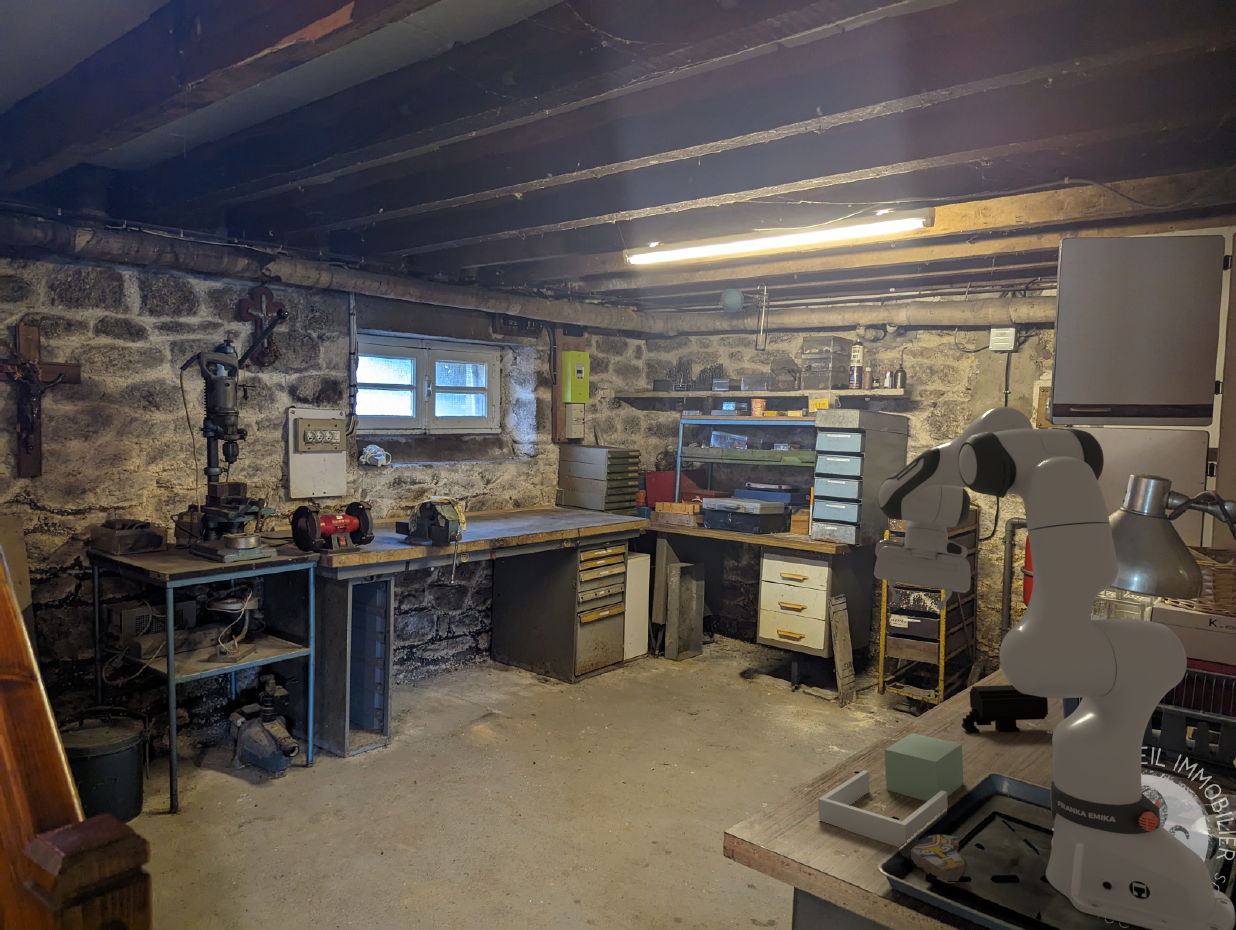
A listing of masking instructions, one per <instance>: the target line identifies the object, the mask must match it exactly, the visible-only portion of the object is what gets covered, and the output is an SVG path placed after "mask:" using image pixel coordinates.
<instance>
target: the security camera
mask: <svg viewBox="0 0 1236 930" xmlns="http://www.w3.org/2000/svg"><path fill="white" fill-rule="evenodd" d="M1048 703H1049V702H1048V698H1047V697H1039V696H1034V695H1028V694H1023V693H1021V692H1019V691H1018V690H1017V689H1015V688H1014V687H1013V686H1012V685H1011V684H1007V685H1001V684H1000V685H975V686H974V685H973V686H971V688H970V690H969V705H970V706H969V707H970V708H971V710H970V711H969V712H968V714H965V717H963V718H962V723H961V727H962V729H964V730H965V732H967V733H968V734H980V729H979V728H977V726H992V723H993V722H994V726H995V727H994V728H995V731H997V732H999V734H1001V733H1003V734H1005V733H1020V732H1021V729H1020V727H1018V726H1017V721H1024V720H1025V721H1026V720H1027V721H1028V720H1032V721H1033V720H1035V721H1036V720H1046V718H1048V717H1047V716H1048V715H1049V705H1048ZM975 724H976V725H977V726H976V725H975Z"/></svg>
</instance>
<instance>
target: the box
mask: <svg viewBox="0 0 1236 930" xmlns="http://www.w3.org/2000/svg"><path fill="white" fill-rule="evenodd" d="M870 787H871V786H870V772H869V770H865V769H863V770H862V771H860V772H858V773H857V774H855V775H854V776H852V777H850V778H849V779H847V780H845V782H842V783H841V784H839V785H838V786H836V787H834V788H833V789H831V790H830V791H828V792H827V793H826V794H824V795H822V796H820V797H819V798H817V799H818V800H817V801H818V821H819V820H821V821H824V822H828V823H830V824H832V825H834V826H833V827H835V826H838V827H840V828H839V829H841V828H842V829H841V830H844V829H845V830H844V831H847V830H848V832H851V833H854V834H857V835H861V836H864V837H867V838H869V839H872V840H874V841H877V842H881V843H885V844H888V845H890V846H894V847H896V848H899V847H900V846H901V845H902V843H904V842H907V840H908V839H910V838H911V836H913V835H914V833H916V832H917V831H918V830H920V829H921V828H923V827H924V826H925V825H926V824H927V823H928V822H930V821H931V820H932V819H934V817H935V816H936V815H938V814H939V813H941V812H942V811H943V810H944V809H946V808H947V807H948V797H947V792H945V791H942V790H941V791H940V792H939V793H938V794H936V795H935V796H934V797H932V798H931V799H930V800H929V801H925V803H924V804H922V805H921V806H920V807H918V808H917V809H916V810H915V811H914V812H912V813H910V815H908V816H907V817H905V818H904V819H903V820H902V821H901V820H898V819H896V818H892V817H888V816H886V815H881V814H879V813H875V812H873V811H868V810H865V809H862V808H859V807H855V806H852V805H853V804H854V803H856V802H857V801H859V800H860V799H862V798H863V797H864V796H863V795H865V794H866V793H867V792H869V791H871V790H870ZM869 793H870V792H869ZM866 795H867V794H866ZM866 795H865V796H866ZM862 796H863V797H862ZM861 797H862V798H861ZM859 798H860V799H859ZM858 799H859V800H858ZM856 800H857V801H856ZM855 801H856V802H855ZM853 802H854V803H853ZM852 803H853V804H852ZM849 805H850V806H849ZM948 808H949V807H948ZM832 825H831V826H832ZM838 827H837V828H838Z"/></svg>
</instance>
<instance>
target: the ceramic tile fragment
mask: <svg viewBox="0 0 1236 930" xmlns="http://www.w3.org/2000/svg"><path fill="white" fill-rule="evenodd" d="M926 837H927V836H926ZM960 839H961V837H959V836H955V835H953V836H952V835H948V834H933V835H928V837H927V838H925V839H924V841H922V842H921V843H919V844H918V845H917V846H915V847H914V848H912V849H911V859H912V860H913V862H914V864H916V865H917V866H919V867H921V868H922V869H923V870H924V871H926V872H927V873H931V874H932V875H934V876H936V877H940V878H942V879H943V880H948V881H958V882H959V879H961V876H962V874H963V872H965V868H966V863H965V860H964V859H963V858H962V857H961V855H960V854H959V846H960V845H959V844H960ZM905 843H907V842H904V843H902V845H901V846H903V845H904V844H905ZM901 846H900V847H901ZM900 847H898V849H899V848H900ZM917 866H916V867H917ZM921 868H920V869H921ZM922 869H921V870H922ZM923 870H922V871H923ZM924 871H923V872H924ZM926 872H925V873H926ZM927 873H926V874H927Z"/></svg>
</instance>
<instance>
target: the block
mask: <svg viewBox="0 0 1236 930" xmlns="http://www.w3.org/2000/svg"><path fill="white" fill-rule="evenodd" d="M963 760H964V759H963V744H962V743H959V742H955V741H954V742H953V741H949V740H945V739H942V738H941V739H940V738H937V737H933V736H927V735H923V734H918V733H914V732H911V733H910V734H908V735H907V736H904V737H903V738H901V739H900V740H898V741H896V742H895V743H892V745H891V744H890V746H888V747H886V748H885V749H884V761H885V763H884V764H885V781H886V782H885V783H886V784H885V786H886V791H889V790H890V792H893V793H896V792H897V793H896V794H899V793H900V795H903V796H907V797H911V798H914V799H918V800H922V801H924V802H927V801H929V800H930V799H931V798H932V797H934V796H935V795H936V794H938V793H939V792H940V791H941V790H942V791H945V792H947V798H948V797H949V796H951V795H952V794H953V793H954V792H955V791H957V790H958V789H959V788H961V787H962V786H964V766H963V764H964V763H963ZM961 785H962V786H961Z"/></svg>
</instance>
